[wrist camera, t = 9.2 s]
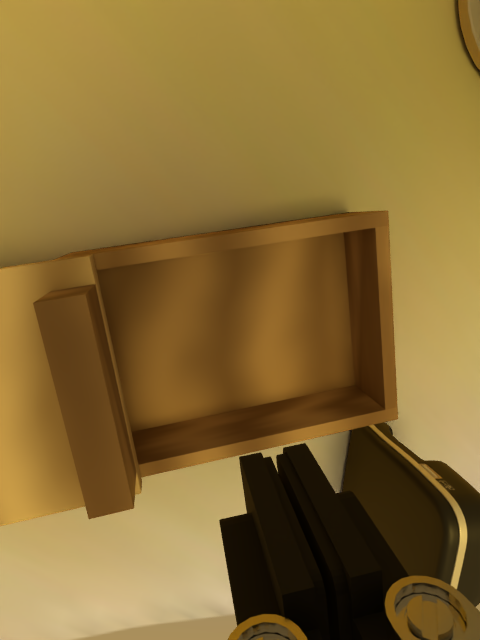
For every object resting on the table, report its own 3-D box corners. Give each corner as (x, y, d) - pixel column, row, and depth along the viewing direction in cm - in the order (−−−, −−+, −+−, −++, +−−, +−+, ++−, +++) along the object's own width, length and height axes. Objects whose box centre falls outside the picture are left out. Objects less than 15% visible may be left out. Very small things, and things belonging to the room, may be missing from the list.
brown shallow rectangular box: (348, 212, 28) (387, 210, 24) (360, 388, 31) (397, 418, 27) (72, 252, 26) (53, 259, 21) (115, 441, 29) (107, 484, 24)
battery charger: (383, 496, 34) (491, 627, 23) (338, 498, 33) (428, 634, 22) (398, 414, 33) (521, 512, 22) (351, 414, 32) (454, 515, 21)
